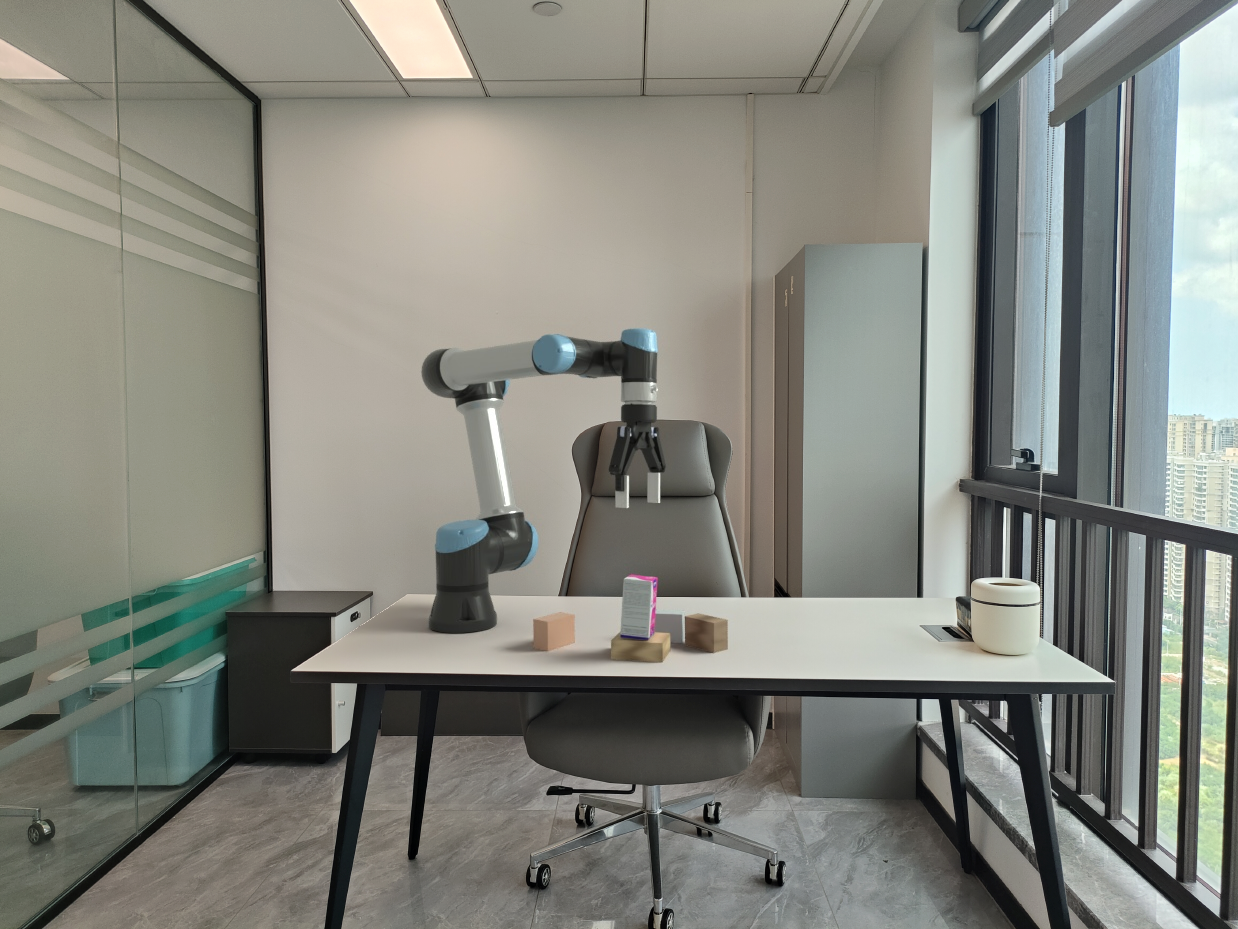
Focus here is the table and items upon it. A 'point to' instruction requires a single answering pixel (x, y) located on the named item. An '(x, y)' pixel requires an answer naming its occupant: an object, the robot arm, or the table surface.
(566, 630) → the terracotta brick
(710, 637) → the walnut brick
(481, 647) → the table surface
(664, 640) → the oak block
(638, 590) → the supplement box
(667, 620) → the grey painted brick
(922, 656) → the table surface
